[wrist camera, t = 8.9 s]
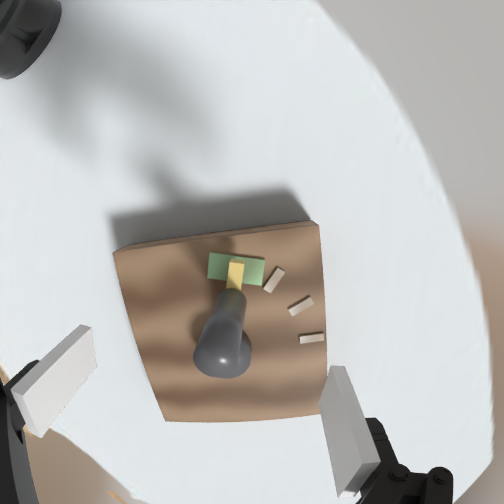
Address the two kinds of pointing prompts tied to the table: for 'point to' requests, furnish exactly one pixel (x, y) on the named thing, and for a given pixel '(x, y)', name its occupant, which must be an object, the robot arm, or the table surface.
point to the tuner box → (255, 325)
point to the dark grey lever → (225, 331)
